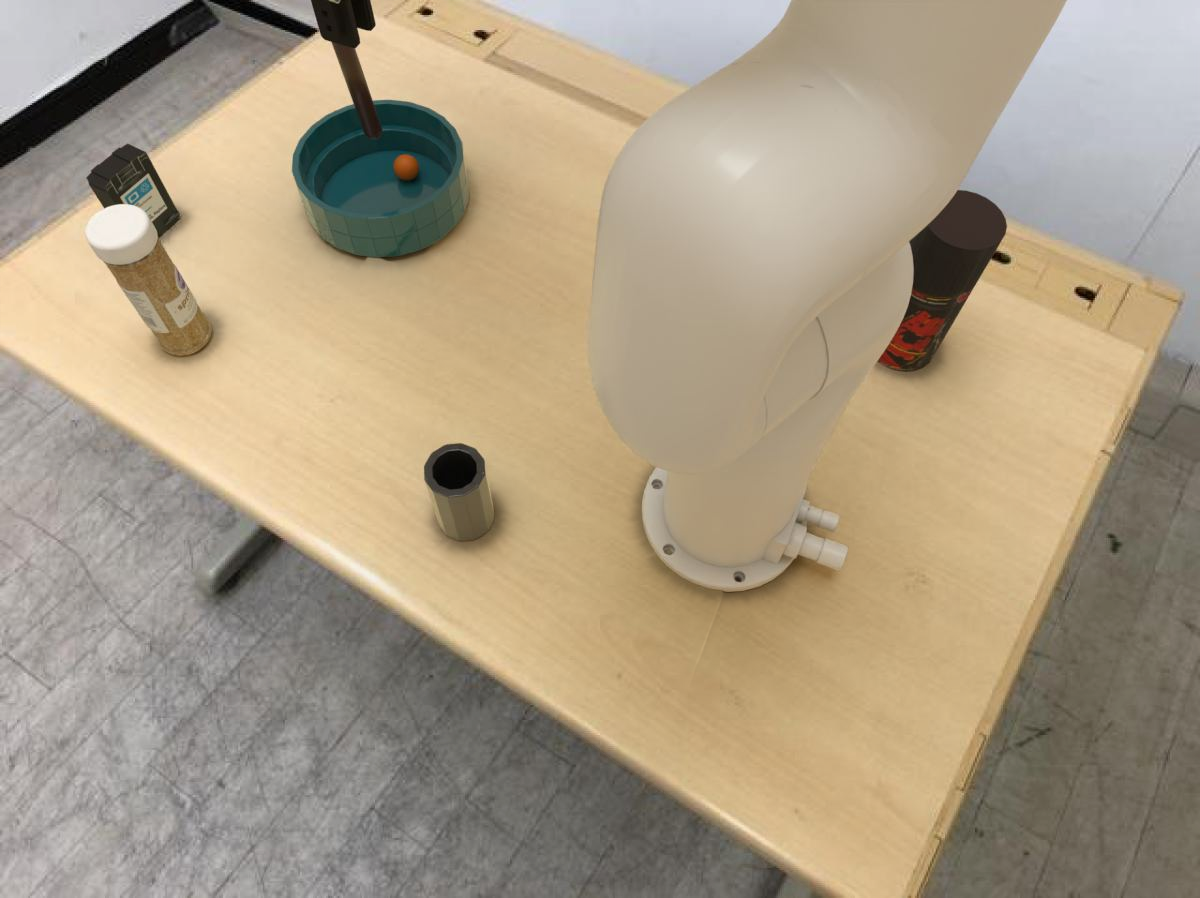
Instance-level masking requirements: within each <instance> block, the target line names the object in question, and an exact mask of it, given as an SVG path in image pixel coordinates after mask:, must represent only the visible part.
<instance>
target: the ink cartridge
mask: <svg viewBox="0 0 1200 898" xmlns="http://www.w3.org/2000/svg"><path fill="white" fill-rule="evenodd" d="M85 179H86V180H87V182H88V185H89V187H90V189H91V191H92V192H93V193H94V195H95V196H96V198H97V199H98V201H99V202H100V204H101V206H102V208H103V209H104V208H106V207H109V206H113V205H118V204H129V205H134V206H137V207H139V208H141V209H142V210H143V211H145V213H146V214H147V215H148V217H149V218H150V220H151V221H152V223H153V225H154V227H155V228H156V230H157V234H158V239H160V237H161V236H162V235H163V234H164V233H166V232H167V231H168V230H169V229H170V228H172V226H174V225H175V224H176V223H177V222H178V220H179V219H180V214H181V213H180V211H179V210H178V209H177V206H176V205H175V203H174V201H173V200H172V198H171V195H170V194H169V192H168V190H167V188H166V186H165V184H164V182H163V181H162V179H161V177H160V175H159V173H158V171H157V169H156V168H155V165H154V164H153V162H152V160H151V158H150V157H149V154H148V153H147V151H145V150H143V149H140V148H138V147H136V146H134V145H132V144H130V143H126V144H124V145H123V146H122V147H120V146H119V147H118V148H117V149H115V150H113V151H112V152H111V154H110V155H109V156H107V157H106V158H105V159H104V160H102V162H100V163H99V164H97V165H95V166H94V167H93V168H92V169H91V170H90V172H89V174H88V175H87V176H86V177H85Z"/></svg>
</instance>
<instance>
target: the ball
mask: <svg viewBox="0 0 1200 898" xmlns="http://www.w3.org/2000/svg"><path fill="white" fill-rule="evenodd" d="M393 168H394V172H395V174H396V176H397V177H398V178H400V179H401V180H404V181H410V180H413V179H414V178H415V177H416V176H417V175H418V173H419V164H418V162H417V160H416V159H415V158H414V157H413V156H411V155H407V154H404V155H400V156H399V157H397V158H396V160H395V162H394V166H393Z"/></svg>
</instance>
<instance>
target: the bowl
mask: <svg viewBox="0 0 1200 898" xmlns="http://www.w3.org/2000/svg"><path fill="white" fill-rule="evenodd" d="M372 100H373V103H374V106H375V109H376V112H377V115H378V118H379V121H380V124H381V127H382V134H381V136H380V137H379V138H378V139H369V138H368V137H366V135H365V134H364V131H363V129H362V126H361V123H360V120H359V118H358V115H357V112H356V109H355V106H354V104H349V105H346V106H343V107H341V108H338V109H336V110H334V111H332V112H330V113H327V114H326V115H324V116H323V117H321V118H320V119H318V120H317V121H316V122H315V123H313V124H312V125H311V126H310V127H309V128H308V129H307V130H306V132H305V133H303V135H302V136H301V137H300V138H299V140H298V142H297V143H296V147H295V149H294V151H293V153H292V159H291V160H292V162H291V173H292V176H293V179H294V182H295V185H296V187H297V190H298V193H299V196H300V198H301V201H302V204H303V207H304V209H305V212H306V215H307V218H308V220H309V223H310V225H311V227H312V228H313V229H314V231H315V232H316V233H317V234H318V236H319V237H320V238H321V239H322V240H324V241H325V242H327V243H328V244H330V245H331V246H333V247H334V248H335V249H337V250H340V251H344V252H347V253H349V254H353V255H356V256H359V257H360V256H361V257H370V258H389V257H400V256H404V255H407V254H412V253H415V252H418V251H421V250H423V249H426V248H427V247H430V246H432V245H433V244H435V243H438V242H439V241H440V240H442V239H443V238H444V237H446V236H447V235H448V234H449V233H451V231H453V230H454V229H455V228H456V226H457V225H458V223H459V222H460V221H461V219H462V218H463V216H464V214H465V213H466V211H467V210H466V209H467V206H468V203H469V199H470V193H469V192H470V190H469V179H468V173H467V166H466V159H465V152H464V145H463V141H462V139H461V137H460V134H459V133H458V130H457V129H456V128H455V126H454V125H452V123H450V121H449V120H448V119H447V118H446V117H445V116H444V115H442V114H440V113H438V112H437V111H435V110H433V109H432V108H430V107H427V106H424V105H422V104H417V103H415V102H412V101H406V100H396V99H375V100H374V99H372ZM404 154H407V155H411V156H413V157H414V158H415V159H416V160H417V162H418V164H419V173H418V175H417V176H416V177H415V178H414V179H413V180H410V181H404V180H401V179H400V178H398V177H397V176H396V174H395V172H394V168H393V166H394V162H395V160H396V158H397V157H399V156H400V155H404Z"/></svg>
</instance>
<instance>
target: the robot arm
mask: <svg viewBox="0 0 1200 898" xmlns="http://www.w3.org/2000/svg"><path fill="white" fill-rule="evenodd" d="M310 1H311V2H310V3H311V6H312V9H313V13H314V16H315V20H316V22H317V27H318V30H319V34H320V36H321V38H322V39H324V41H327V42H330V43H332V42H333V43H337V44H340V45H344V46H347V47H351V48H355V49H357V48H358V47H359V46H360V44H361V37H360V33H359V29H360V30H363V31H366V32H372V31H373V30H374V29H375V28H376V25H377V23H376V20H375V19H376V18H375V15H374V10H373V6H372V1H371V0H310ZM1067 2H1068V0H790V2H789V4H788V6H787V8H786V10H785V12H784V15H783V16H782V18H781V19H780V21H779V22H778V24H777V25H776V26H775V27H774V28H772V30H771V31H770V32H769V33H768V34H767V35H766V36H765V37H763V38H762V39H761V40H760V41H759V42H758V43H757V44H755V45H754V46H753V47H751V48H750V49H748V50H747V51H746V52H745V53H743V54H742V55H741V56H739V57H738V58H737V59H735V60H733V61H732V62H730V63H729V64H726V65H725V66H724V67H722V68H720V69H719V70H717V71H715V72H714V73H712V74H711V75H710V76H708V77H706V78H704V79H702V80H701V81H700V82H697V83H695V84H694V85H693V86H691V87H690V88H688V89H686V90H685V91H683V92H682V93H680V94H678V95H677V96H675V97H674V98H672V99H670V101H668V102H667V103H666V104H664V105H663V106H661V107H660V108H658V109H657V110H656V111H655V112H654V113H652V114H651V115H650V116H648V118H646V119H645V120H644V121H643V122H641V124H640V125H639V126H638V127H637V129H636V130H634V131H633V133H632V134H631V136H630V137H629V138H628V140H626V143H625V144H624V145H623V146H622V148H621V150H620V151H619V153H618V155H617V156H616V158H615V160H614V162H613V163H612V166H611V168H610V170H609V172H608V175H607V177H606V179H605V182H604V185H603V190H602V194H601V198H600V205H599V211H598V220H597V229H596V237H595V238H596V239H595V251H594V260H593V270H592V271H593V273H592V283H591V293H590V294H591V295H590V304H589V312H588V313H589V314H588V325H587V326H588V327H587V358H588V366H589V373H590V379H591V382H592V387H593V390H594V392H595V396H596V399H597V402H598V404H599V406H600V409H601V411H602V413H603V415H604V417H605V419H606V421H607V423H608V424H609V425H610V427H611V429H612V431H613V432H614V434H615V435H617V437H618V438H619V440H621V442H622V443H624V445H625V446H626V447H627V448H628V449H629V450H630V451H631V452H632V453H633V454H635V455H636V456H637V457H638V458H640V459H641V460H642V461H644V462H646V463H647V464H649V465H651V466H654V470H653V471H652V472H651V474H650V476H649V477H648V479H647V482H646V485H645V487H644V490H643V495H642V501H641V520H642V526H643V530H644V532H645V535H646V538H647V541H648V543H649V544H650V546H651V548H652V550H653V551H654V553H655V554H656V556H657V557H658V558H659V559H660V560H661V561H662V563H664V564H665V566H666V567H667V568H669V569H670V570H671V571H672V572H673V573H675V574H676V575H678V576H680V578H682V579H684V580H686V581H689V582H691V583H693V584H695V585H698V586H701V587H704V588H707V589H712V590H718V591H719V590H720V591H722V592H727V593H729V592H744V591H747V590H752V589H755V588H760V587H761V586H763V585H766V584H767V583H769V582H772V581H774V580H775V579H776V578H778V577H779V576H780V575H782V573H784V572H785V571H786V569H787V568H788V567H789V566H790V565H791V564H792V563H793V562H794V560H796V559H797V558H798V556H801V557H804V558H806V559H809V560H811V561H814V562H815V563H817V564H819V565H822V566H825V567H827V568H830V569H833V570H836V571H838V572H840V571H841V569H842V568H843V565H844V563H845V561H846V559H847V555H848V552H849V546H848V545H845V544H843V543H840V542H838V541H835V540H833V539H830V538H827V537H824V538H823V537H820V536H818V535H815V534H813V533H810V532H808V531H807V530H808V525H807V524H808V523H809V524H811V525H814V526H816V527H817V528H820V529H822V530H825V531H827V532H831V533H834V532H835V531H836V529H837V526H838V524H839V521H840V518H841V515H840V514H837V513H835V512H832V511H830V510H827V509H822V508H821V509H820V508H819V507H815V506H813V505H811V501H810V500H807V499H804V497H805V494H806V491H807V488H808V485H809V481H810V480H811V478H812V476H813V473H814V472H815V469H816V467H817V464H818V463H819V461H820V459H821V457H822V454H823V453H824V450H825V448H826V447H827V446H828V444H829V442H830V440H831V438H832V437H833V434H834V432H835V430H836V428H837V426H838V424H839V422H840V421H841V418H842V417H843V415H844V413H845V411H846V409H847V407H848V405H849V404H850V403H851V401H852V400H853V398H854V396H855V394H857V391H858V390H859V389H860V387H861V385H862V384H863V382H864V381H865V379H866V378H867V376H868V375H869V374H870V372H871V371H872V370H873V369H874V367H875V366H876V364H877V362H879V361H878V359H879V358H880V357H881V355H882V354H883V352H884V351H885V349H886V348H887V346H888V345H889V343H890V342H891V340H892V338H893V337H894V335H895V333H896V331H897V330H898V328H899V326H900V324H901V322H902V320H903V318H904V315H905V312H906V310H907V307H908V304H909V300H910V297H911V292H912V286H913V272H914V266H913V255H912V251H911V246H910V242H909V241H910V240H911V239H913V238H914V237H915V236H916V235H917V234H918V233H919V232H920V231H922V230H923V229H924V228H925V227H926V226H927V225H928V224H929V223H930V222H931V221H932V220H933V219H934V218H935V217H936V216H937V215H938V214H939V213H940V212H941V211H942V210H943V209H944V207H945V206H946V205H947V204H948V203H949V201H950V200H951V199H952V197H953V196H954V195H955V193H956V192H957V190H960V187H961V186H962V184H963V182H964V180H965V179H966V177H967V175H968V173H969V172H970V170H971V168H972V167H973V165H974V163H975V161H976V160H977V157H978V156H979V154H980V152H981V151H982V149H983V147H984V145H985V143H986V142H987V140H988V138H989V136H990V134H991V133H992V131H993V129H994V128H995V125H996V124H997V122H998V120H999V118H1000V117H1001V115H1002V113H1003V112H1004V110H1005V109H1006V107H1007V105H1008V103H1009V102H1010V100H1011V98H1012V96H1013V95H1014V94H1015V91H1016V90H1017V88H1018V87H1019V85H1020V83H1021V81H1022V79H1023V78H1024V76H1025V75H1026V73H1027V71H1028V70H1029V68H1030V66H1031V65H1032V63H1033V61H1034V60H1035V58H1036V56H1037V54H1038V53H1039V51H1040V49H1041V47H1042V46H1043V44H1044V43H1045V41H1046V40H1047V37H1048V36H1049V34H1050V33H1051V31H1052V29H1053V27H1054V25H1055V24H1056V22H1057V20H1058V19H1059V16H1060V14H1061V12H1062V11H1063V9H1064V7H1065V5H1066V3H1067ZM655 486H658V487H659V488H655ZM667 550H669V551H671V554H667V553H666V551H667ZM736 579H739V581H737V580H736Z"/></svg>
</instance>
